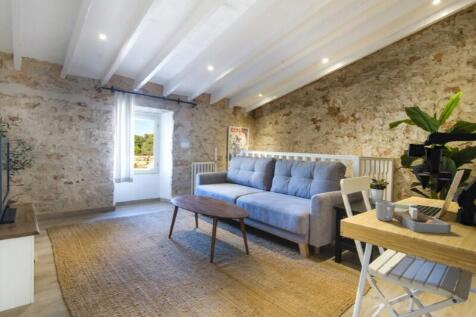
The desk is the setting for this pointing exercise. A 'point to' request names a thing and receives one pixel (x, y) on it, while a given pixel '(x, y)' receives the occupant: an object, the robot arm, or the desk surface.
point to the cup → (385, 210)
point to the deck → (420, 217)
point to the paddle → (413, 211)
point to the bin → (427, 226)
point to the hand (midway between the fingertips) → (430, 191)
